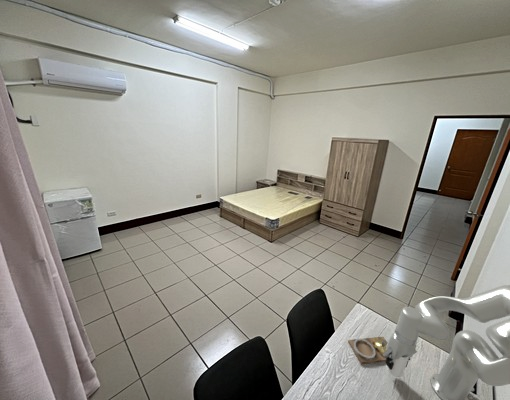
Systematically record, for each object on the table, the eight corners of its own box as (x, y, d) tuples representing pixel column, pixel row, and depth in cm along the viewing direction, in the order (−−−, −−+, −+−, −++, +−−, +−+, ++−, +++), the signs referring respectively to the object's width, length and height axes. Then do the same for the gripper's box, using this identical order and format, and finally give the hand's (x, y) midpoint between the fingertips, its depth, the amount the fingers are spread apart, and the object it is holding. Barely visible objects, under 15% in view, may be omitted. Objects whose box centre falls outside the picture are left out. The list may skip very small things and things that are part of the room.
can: (397, 363, 98) (404, 344, 94) (405, 378, 92) (413, 359, 88) (383, 361, 99) (388, 342, 95) (390, 377, 92) (396, 357, 89)
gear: (383, 338, 112) (385, 332, 111) (396, 355, 104) (398, 349, 102) (368, 340, 111) (370, 333, 109) (380, 357, 103) (382, 350, 101)
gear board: (382, 338, 114) (383, 336, 113) (398, 359, 104) (399, 357, 103) (348, 342, 111) (348, 340, 110) (360, 364, 100) (361, 362, 100)
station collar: (366, 339, 111) (367, 337, 111) (379, 358, 102) (379, 356, 102) (349, 341, 109) (350, 339, 109) (361, 360, 100) (361, 358, 100)
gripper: (416, 324, 93) (406, 354, 99) (380, 329, 91) (372, 359, 96) (432, 341, 86) (420, 371, 92) (393, 346, 84) (384, 377, 89)
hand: (395, 364), depth 94 cm, fingers closed on can, 6 cm apart
